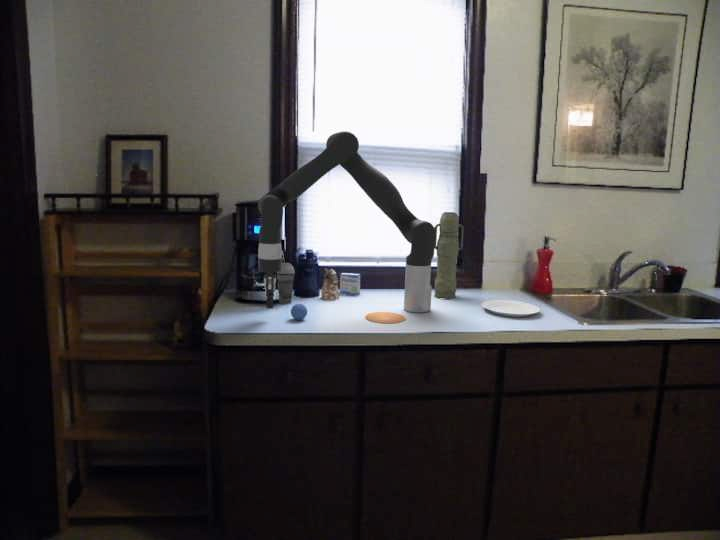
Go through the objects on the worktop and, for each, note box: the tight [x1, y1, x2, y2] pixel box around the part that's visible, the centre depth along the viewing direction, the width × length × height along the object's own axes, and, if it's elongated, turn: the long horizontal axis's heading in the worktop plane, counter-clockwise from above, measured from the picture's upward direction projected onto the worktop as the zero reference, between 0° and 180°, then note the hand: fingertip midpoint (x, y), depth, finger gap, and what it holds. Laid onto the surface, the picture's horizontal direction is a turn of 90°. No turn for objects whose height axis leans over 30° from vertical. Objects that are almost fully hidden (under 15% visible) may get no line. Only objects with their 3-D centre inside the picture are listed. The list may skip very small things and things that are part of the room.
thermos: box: [433, 211, 465, 300], centre depth 208 cm, size 9×12×35 cm
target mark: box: [365, 311, 407, 325], centre depth 176 cm, size 14×14×1 cm
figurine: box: [320, 268, 340, 301], centre depth 202 cm, size 7×7×12 cm
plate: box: [481, 299, 541, 318], centre depth 189 cm, size 21×21×2 cm
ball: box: [290, 303, 308, 321], centre depth 171 cm, size 6×6×6 cm
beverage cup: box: [275, 250, 296, 305], centre depth 192 cm, size 7×7×20 cm
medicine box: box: [339, 272, 361, 296], centre depth 210 cm, size 8×4×9 cm, turn 80°
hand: (269, 307), depth 169 cm, fingers closed
